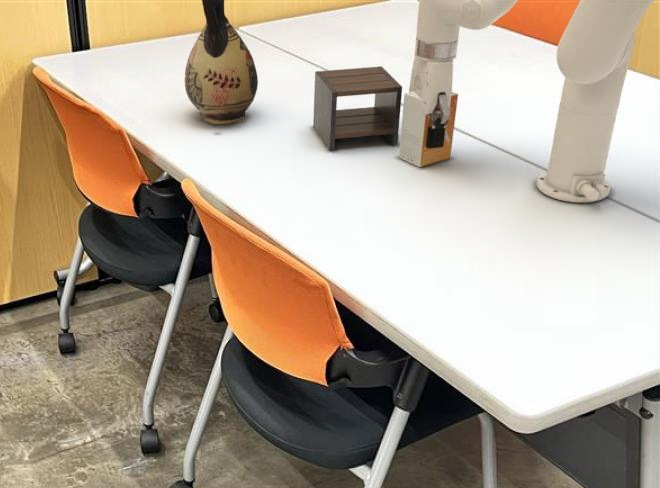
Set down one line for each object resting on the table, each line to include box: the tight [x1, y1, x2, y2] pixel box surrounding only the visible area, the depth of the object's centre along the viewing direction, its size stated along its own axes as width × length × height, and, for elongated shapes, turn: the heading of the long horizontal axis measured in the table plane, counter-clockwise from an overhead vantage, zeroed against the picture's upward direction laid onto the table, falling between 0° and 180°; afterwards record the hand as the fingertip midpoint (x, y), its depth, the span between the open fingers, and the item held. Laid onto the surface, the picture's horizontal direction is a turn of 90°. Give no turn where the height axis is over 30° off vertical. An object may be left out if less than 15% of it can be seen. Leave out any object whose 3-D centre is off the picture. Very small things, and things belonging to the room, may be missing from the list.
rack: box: [312, 66, 403, 152], centre depth 197 cm, size 13×14×12 cm
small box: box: [398, 91, 459, 168], centre depth 187 cm, size 8×6×13 cm
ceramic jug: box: [184, 0, 259, 126], centre depth 203 cm, size 17×15×30 cm
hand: (426, 138), depth 188 cm, fingers closed on small box, 8 cm apart
